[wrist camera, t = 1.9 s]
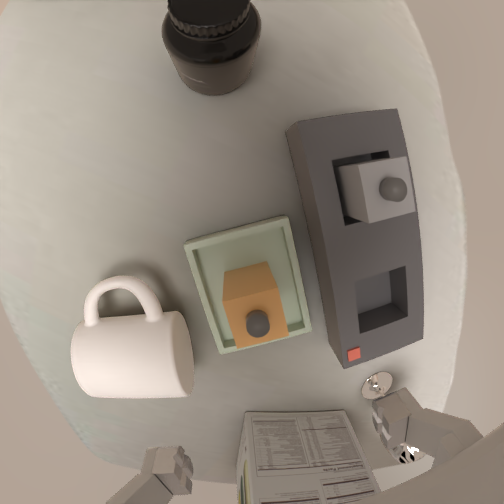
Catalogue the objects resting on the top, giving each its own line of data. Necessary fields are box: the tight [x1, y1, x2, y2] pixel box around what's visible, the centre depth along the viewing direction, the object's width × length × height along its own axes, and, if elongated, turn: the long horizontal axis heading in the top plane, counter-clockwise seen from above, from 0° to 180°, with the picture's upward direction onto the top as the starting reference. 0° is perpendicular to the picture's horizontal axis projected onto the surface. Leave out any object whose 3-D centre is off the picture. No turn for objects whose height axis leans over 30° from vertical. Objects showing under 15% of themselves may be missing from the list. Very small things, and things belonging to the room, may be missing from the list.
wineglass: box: [361, 372, 426, 464], centre depth 27 cm, size 6×6×12 cm
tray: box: [183, 215, 312, 355], centre depth 28 cm, size 11×9×2 cm
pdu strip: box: [285, 109, 424, 369], centre depth 26 cm, size 22×9×5 cm, turn 14°
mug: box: [71, 276, 194, 398], centre depth 25 cm, size 12×10×8 cm
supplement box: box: [236, 410, 381, 504], centre depth 26 cm, size 13×13×18 cm
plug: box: [222, 261, 289, 349], centre depth 24 cm, size 4×4×8 cm
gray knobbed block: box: [333, 157, 415, 223], centre depth 22 cm, size 4×4×8 cm
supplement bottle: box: [162, 0, 261, 95], centre depth 18 cm, size 7×7×12 cm
